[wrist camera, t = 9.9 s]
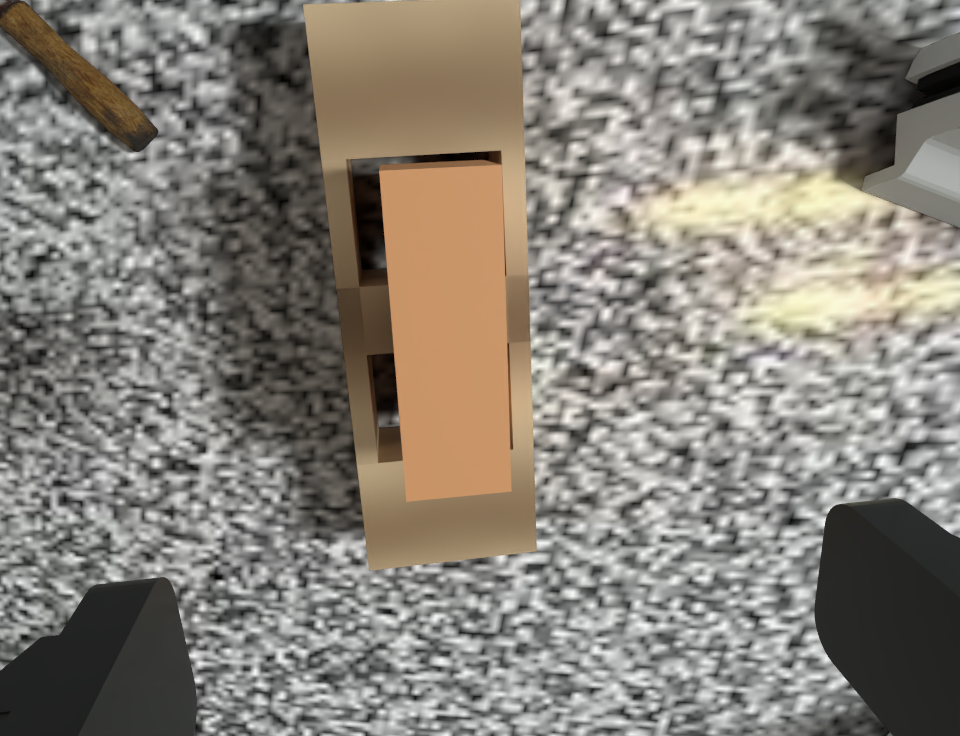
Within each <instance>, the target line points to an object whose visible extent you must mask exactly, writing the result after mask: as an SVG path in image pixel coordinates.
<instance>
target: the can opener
mask: <svg viewBox="0 0 960 736" xmlns="http://www.w3.org/2000/svg"><path fill="white" fill-rule="evenodd" d="M0 26H1V27H2V28H3V29H4V30H5V31H6V32H7V33H9V34H10V35H11V36H12V37H13V38H14V39H15V40H16V41H17V42H18V43H20V44H21V45H22V46H23V47H24V48H25V49H26V50H27V51H28V52H30V53H31V54H32V55H33V56H34V57H35V58H37V59H38V60H39V61H40V62H41V63H42V64H43V65H44V66H45V67H46V68H47V69H48V70H49V71H50V72H51V73H52V74H53V75H54V76H55V77H56V78H57V79H58V80H59V81H60V83H61V84H62V85H63V86H64V87H65V88H66V89H67V90H68V91H69V92H70V93H71V95H72V96H73V97H74V98H75V99H76V100H77V101H78V102H79V103H80V104H81V105H82V106H83V107H84V108H85V109H86V110H87V111H88V112H89V113H90V114H92V115H93V116H94V117H95V118H96V119H97V120H98V121H99V122H100V123H101V124H102V125H103V126H104V127H105V128H106V129H108V130H109V131H110V132H111V133H112V134H114V135H115V136H116V137H117V138H119V139H120V140H121V141H122V142H124V143H125V144H126V145H127V146H129V147H130V148H131V149H133V150H134V151H136V152H139V151H141V150H143V149H144V148H145V147H146V146H147V145H148V144H149V143H150V142H151V141H152V140H153V139H154V138H155V137H156V136H157V134H158V130H157V128H156V127H155V126H154V125H153V124H152V123H151V122H150V120H149V119H148V118H147V117H146V116H145V115H144V114H143V112H142V111H141V110H140V109H139V108H138V107H137V106H136V105H135V104H134V103H133V102H132V101H131V100H130V99H129V98H128V97H127V96H126V95H125V94H124V93H123V92H122V91H121V90H120V89H119V88H118V87H116V86H115V85H114V84H113V83H112V82H111V81H110V80H109V79H108V78H107V77H106V76H105V75H103V74H102V73H101V72H100V71H99V70H97V69H96V68H95V67H94V66H92V65H91V64H90V63H89V62H88V61H86V60H85V59H84V58H83V57H82V56H80V55H79V54H78V53H77V52H76V51H75V50H73V49H72V48H71V47H70V46H69V45H68V44H67V43H65V41H64V40H63V39H62V38H61V37H60V36H59V35H58V34H57V33H56V32H55V31H54V30H53V29H52V28H51V27H50V26H49V25H48V24H47V23H46V22H45V21H44V20H43V19H42V18H41V17H40V16H39V15H38V14H37V13H36V12H35V11H34V10H33V9H32V8H31V7H30V6H29V5H28V4H27V3H26V2H24V1H20V0H0Z"/></svg>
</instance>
